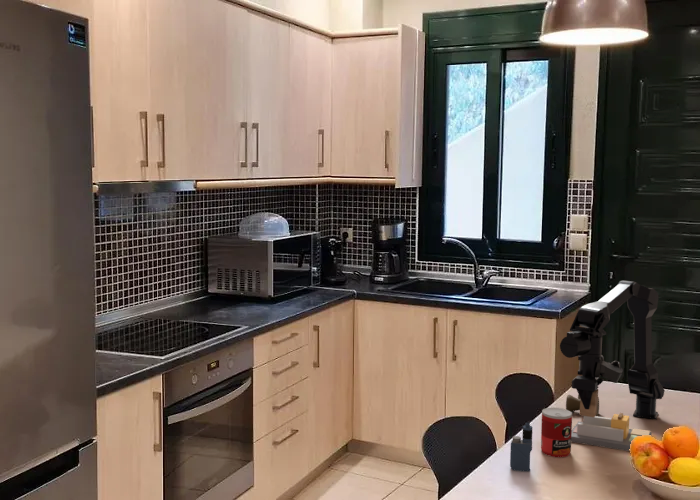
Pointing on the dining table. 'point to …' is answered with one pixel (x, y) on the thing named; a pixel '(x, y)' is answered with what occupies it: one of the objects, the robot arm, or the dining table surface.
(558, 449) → the canned food
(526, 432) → the vaping device
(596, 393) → the walnut block
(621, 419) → the knob
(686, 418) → the dining table surface
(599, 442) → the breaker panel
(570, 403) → the kendama
